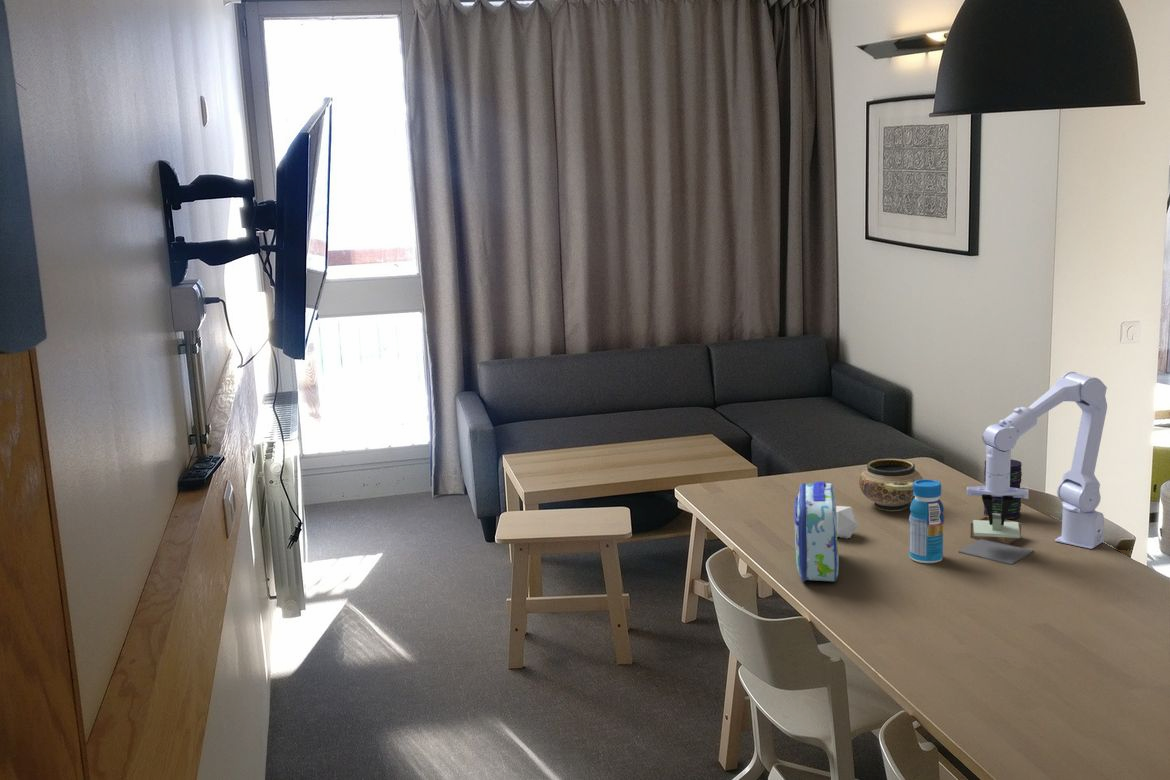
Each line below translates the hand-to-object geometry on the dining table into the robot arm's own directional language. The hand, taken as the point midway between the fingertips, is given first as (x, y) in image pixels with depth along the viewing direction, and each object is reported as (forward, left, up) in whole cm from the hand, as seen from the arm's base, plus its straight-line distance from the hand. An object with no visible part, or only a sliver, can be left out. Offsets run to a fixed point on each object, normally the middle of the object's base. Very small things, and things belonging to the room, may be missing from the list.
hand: (996, 523), depth 274 cm
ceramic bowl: (+40, -16, -8) cm, 44 cm away
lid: (0, 0, -2) cm, 2 cm away
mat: (0, 0, -8) cm, 8 cm away
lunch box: (+28, +38, -8) cm, 48 cm away
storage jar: (+12, -28, -8) cm, 31 cm away
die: (+37, +14, -8) cm, 40 cm away
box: (+5, -10, -8) cm, 13 cm away
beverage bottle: (+11, +15, -8) cm, 20 cm away
